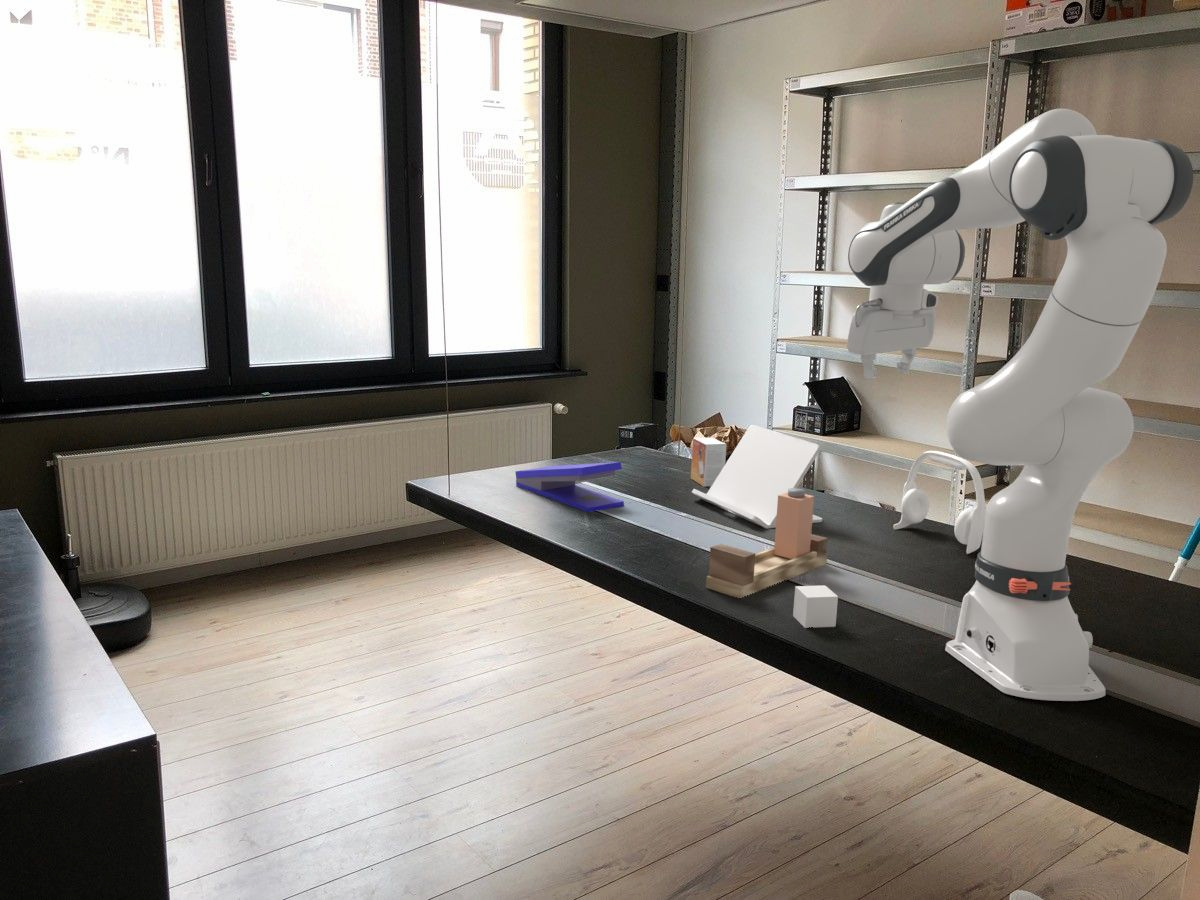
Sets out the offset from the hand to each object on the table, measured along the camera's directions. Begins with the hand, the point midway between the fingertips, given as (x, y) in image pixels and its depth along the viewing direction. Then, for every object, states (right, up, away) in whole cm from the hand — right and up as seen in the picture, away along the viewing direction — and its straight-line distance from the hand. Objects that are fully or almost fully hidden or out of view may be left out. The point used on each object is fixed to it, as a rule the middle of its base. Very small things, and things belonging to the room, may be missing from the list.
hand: (886, 375), depth 173 cm
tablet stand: (-17, -27, +40) cm, 52 cm away
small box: (-25, -21, +64) cm, 72 cm away
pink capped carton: (-16, -32, +3) cm, 36 cm away
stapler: (-58, -24, +49) cm, 80 cm away
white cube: (-18, -40, -22) cm, 49 cm away
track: (-21, -35, -2) cm, 41 cm away
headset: (+17, -32, +23) cm, 42 cm away
